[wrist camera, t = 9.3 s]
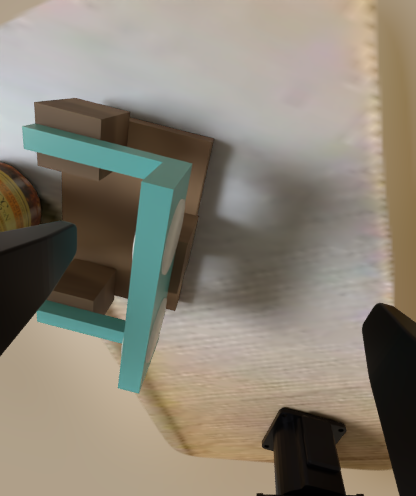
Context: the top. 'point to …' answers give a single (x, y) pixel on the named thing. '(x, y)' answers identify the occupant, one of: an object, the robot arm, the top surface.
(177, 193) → the glasses
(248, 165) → the top surface
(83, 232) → the stand
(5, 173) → the sauce bottle
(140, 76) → the top surface
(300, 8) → the top surface
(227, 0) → the top surface
